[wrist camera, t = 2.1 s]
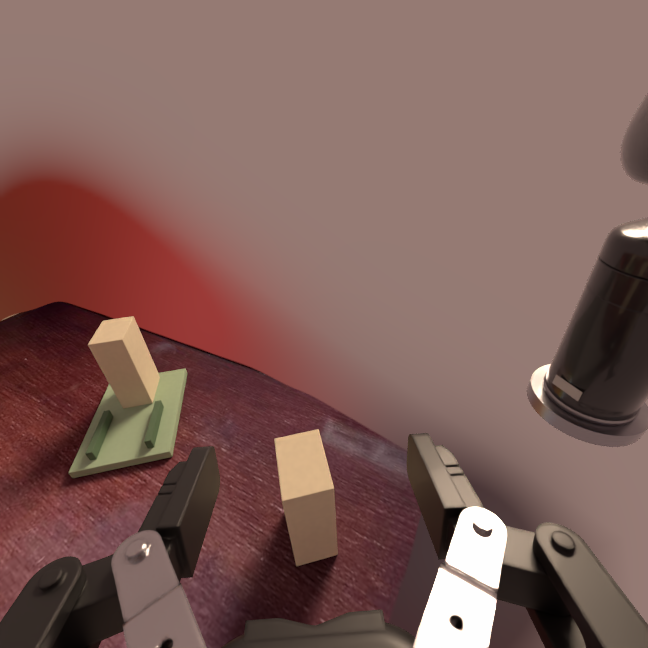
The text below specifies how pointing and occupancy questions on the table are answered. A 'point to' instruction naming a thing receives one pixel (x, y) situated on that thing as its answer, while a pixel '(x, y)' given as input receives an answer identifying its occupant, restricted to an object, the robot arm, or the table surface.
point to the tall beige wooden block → (307, 496)
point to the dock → (133, 429)
